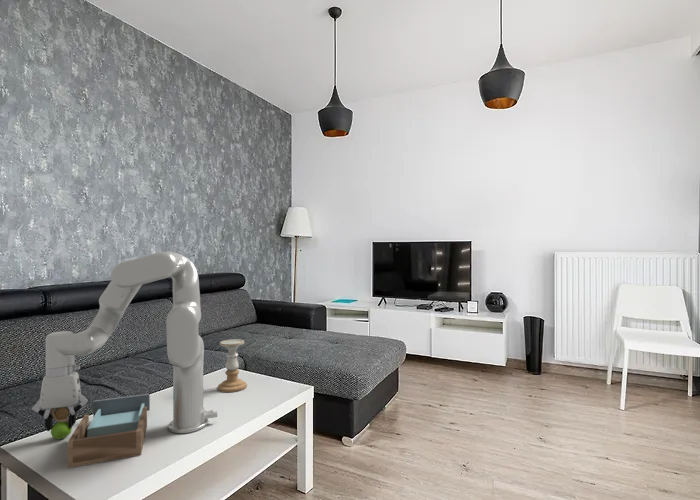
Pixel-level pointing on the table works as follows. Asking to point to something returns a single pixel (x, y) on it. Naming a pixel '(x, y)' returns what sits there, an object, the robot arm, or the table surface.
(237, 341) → the candle holder
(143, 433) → the box
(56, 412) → the snail figurine
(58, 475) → the table surface
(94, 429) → the tray
